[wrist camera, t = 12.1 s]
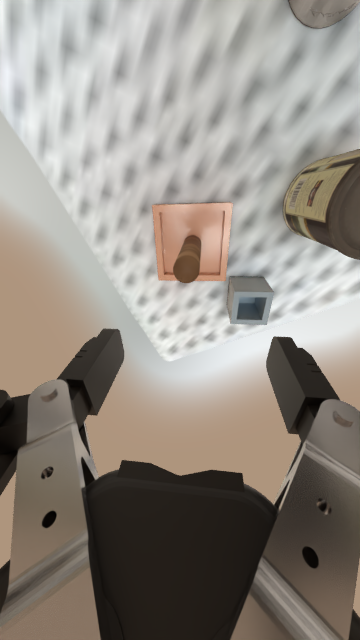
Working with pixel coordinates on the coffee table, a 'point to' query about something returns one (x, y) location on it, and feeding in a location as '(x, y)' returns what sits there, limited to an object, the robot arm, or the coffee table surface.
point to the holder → (249, 300)
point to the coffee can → (327, 203)
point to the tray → (193, 220)
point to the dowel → (188, 260)
